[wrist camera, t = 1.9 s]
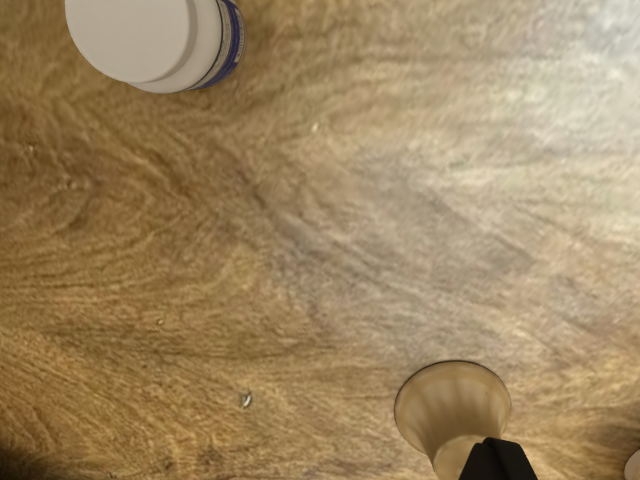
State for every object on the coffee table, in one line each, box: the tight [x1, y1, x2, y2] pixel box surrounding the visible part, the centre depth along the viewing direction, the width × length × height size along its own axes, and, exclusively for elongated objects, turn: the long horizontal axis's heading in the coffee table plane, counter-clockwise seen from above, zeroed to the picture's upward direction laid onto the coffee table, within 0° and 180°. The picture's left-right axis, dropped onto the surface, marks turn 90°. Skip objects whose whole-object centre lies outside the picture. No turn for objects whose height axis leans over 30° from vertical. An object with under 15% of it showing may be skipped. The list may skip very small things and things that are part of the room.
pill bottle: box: [65, 0, 246, 93], centre depth 23 cm, size 6×6×10 cm
